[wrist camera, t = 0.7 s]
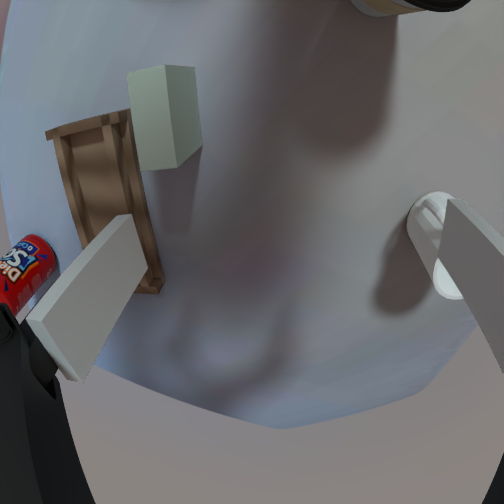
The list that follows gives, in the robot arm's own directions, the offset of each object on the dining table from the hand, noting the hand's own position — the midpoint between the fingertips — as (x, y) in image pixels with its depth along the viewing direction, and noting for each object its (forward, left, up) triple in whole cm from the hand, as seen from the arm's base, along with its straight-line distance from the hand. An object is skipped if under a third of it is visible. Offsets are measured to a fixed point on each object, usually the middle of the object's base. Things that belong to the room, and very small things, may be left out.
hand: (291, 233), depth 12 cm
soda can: (+14, -40, -23) cm, 48 cm away
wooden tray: (+7, -23, -23) cm, 33 cm away
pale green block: (-4, -11, -23) cm, 26 cm away
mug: (+9, +18, -23) cm, 31 cm away
